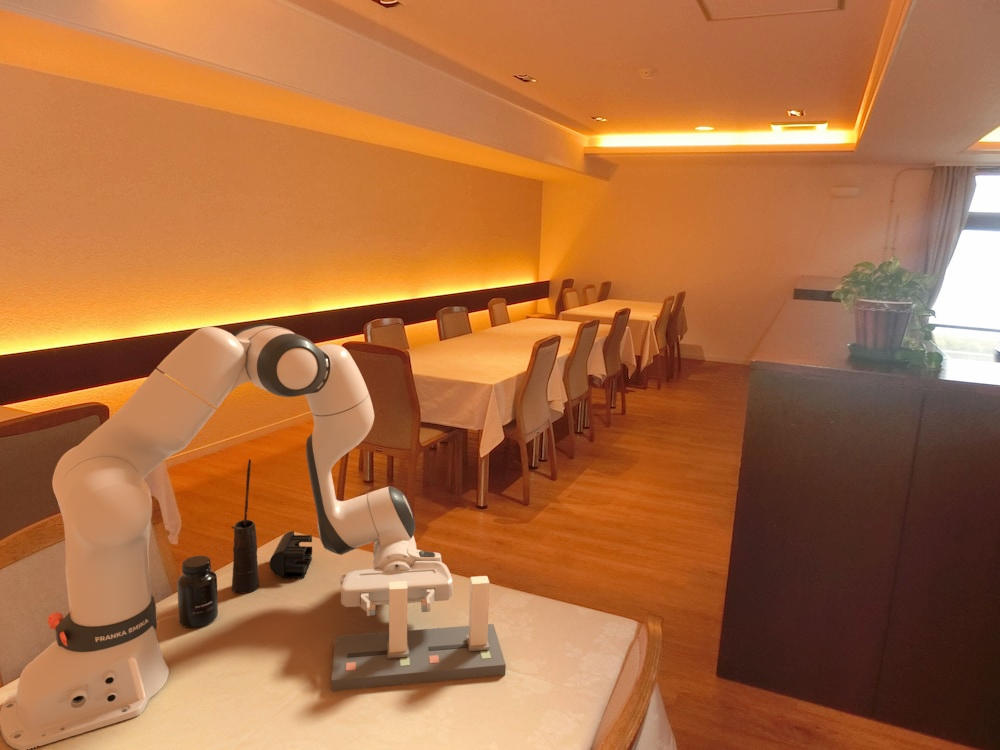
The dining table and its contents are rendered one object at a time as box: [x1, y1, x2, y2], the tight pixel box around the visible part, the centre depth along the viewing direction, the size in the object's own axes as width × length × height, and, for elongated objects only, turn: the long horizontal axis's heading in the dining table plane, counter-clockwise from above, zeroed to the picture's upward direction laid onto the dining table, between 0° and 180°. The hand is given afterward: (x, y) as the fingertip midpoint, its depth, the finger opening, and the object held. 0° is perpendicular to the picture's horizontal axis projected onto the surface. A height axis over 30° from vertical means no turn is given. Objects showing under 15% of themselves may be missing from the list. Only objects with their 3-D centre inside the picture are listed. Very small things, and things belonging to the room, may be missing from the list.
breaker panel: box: [330, 623, 507, 692], centre depth 113 cm, size 29×12×2 cm, turn 101°
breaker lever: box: [466, 575, 490, 651], centre depth 114 cm, size 4×4×12 cm
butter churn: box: [231, 458, 259, 594], centre depth 130 cm, size 9×10×28 cm
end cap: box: [269, 530, 313, 580], centre depth 142 cm, size 10×7×7 cm
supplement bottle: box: [176, 555, 219, 629], centre depth 122 cm, size 7×7×12 cm
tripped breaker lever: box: [387, 581, 409, 658], centre depth 111 cm, size 4×4×12 cm
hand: (398, 610), depth 111 cm, fingers open, 8 cm apart
